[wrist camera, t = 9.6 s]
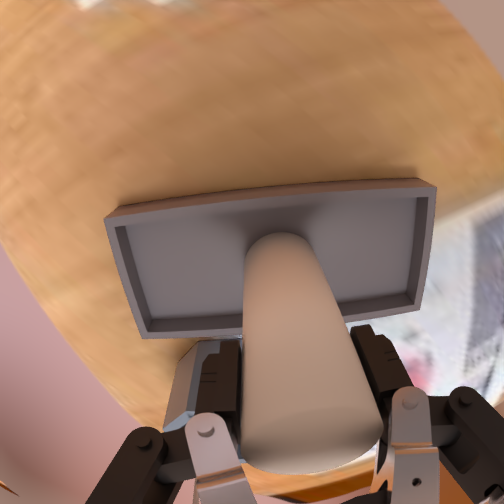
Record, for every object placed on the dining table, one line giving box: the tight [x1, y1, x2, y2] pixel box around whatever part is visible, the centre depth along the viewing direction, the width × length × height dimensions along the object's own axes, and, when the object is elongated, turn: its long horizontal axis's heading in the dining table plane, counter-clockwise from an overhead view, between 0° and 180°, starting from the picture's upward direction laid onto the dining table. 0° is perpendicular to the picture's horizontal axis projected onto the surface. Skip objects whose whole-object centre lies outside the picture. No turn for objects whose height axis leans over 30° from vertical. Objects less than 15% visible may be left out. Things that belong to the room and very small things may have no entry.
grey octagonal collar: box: [163, 339, 247, 463], centre depth 22 cm, size 8×8×7 cm
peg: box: [240, 232, 383, 475], centre depth 13 cm, size 4×4×12 cm
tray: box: [104, 178, 437, 339], centre depth 19 cm, size 20×9×2 cm, turn 96°
